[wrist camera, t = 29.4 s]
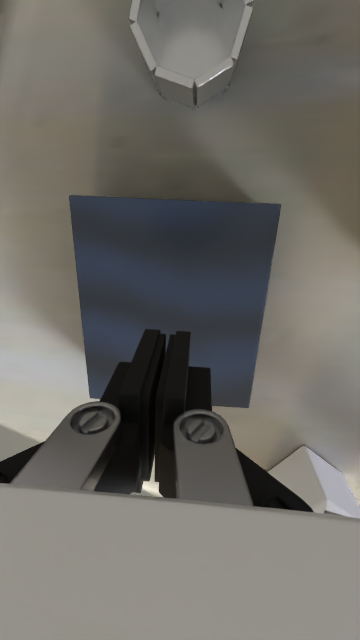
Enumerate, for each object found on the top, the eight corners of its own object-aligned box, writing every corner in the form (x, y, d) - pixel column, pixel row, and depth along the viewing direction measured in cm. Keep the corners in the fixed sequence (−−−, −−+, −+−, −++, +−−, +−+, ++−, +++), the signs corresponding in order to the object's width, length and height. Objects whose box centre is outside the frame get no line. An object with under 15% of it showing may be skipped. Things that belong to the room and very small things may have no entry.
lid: (72, 195, 22) (68, 195, 22) (278, 203, 22) (281, 204, 21) (92, 392, 30) (89, 398, 29) (247, 402, 29) (248, 408, 28)
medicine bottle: (259, 476, 39) (284, 592, 28) (303, 443, 36) (349, 556, 25) (299, 503, 40) (337, 623, 29) (343, 473, 38) (404, 592, 27)
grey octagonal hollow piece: (213, -34, 21) (218, -105, 16) (252, 74, 23) (268, 42, 18) (129, 28, 22) (109, -18, 17) (173, 124, 24) (167, 107, 19)
